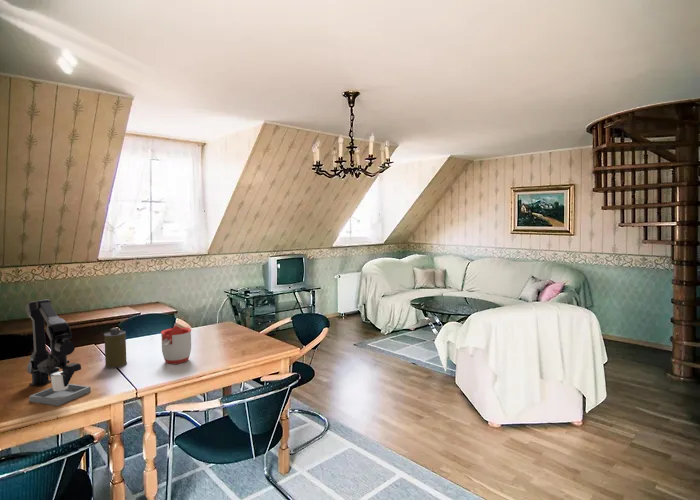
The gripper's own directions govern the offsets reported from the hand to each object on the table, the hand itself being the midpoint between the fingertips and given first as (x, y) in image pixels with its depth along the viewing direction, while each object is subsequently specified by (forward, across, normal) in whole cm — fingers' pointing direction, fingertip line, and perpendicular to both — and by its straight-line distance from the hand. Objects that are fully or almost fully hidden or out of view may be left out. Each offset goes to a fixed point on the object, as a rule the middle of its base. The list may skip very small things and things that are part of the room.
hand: (60, 385), depth 193 cm
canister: (+5, -11, +41) cm, 43 cm away
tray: (+5, 0, 0) cm, 5 cm away
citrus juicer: (+5, +16, +55) cm, 58 cm away
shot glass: (+2, 0, 0) cm, 2 cm away
